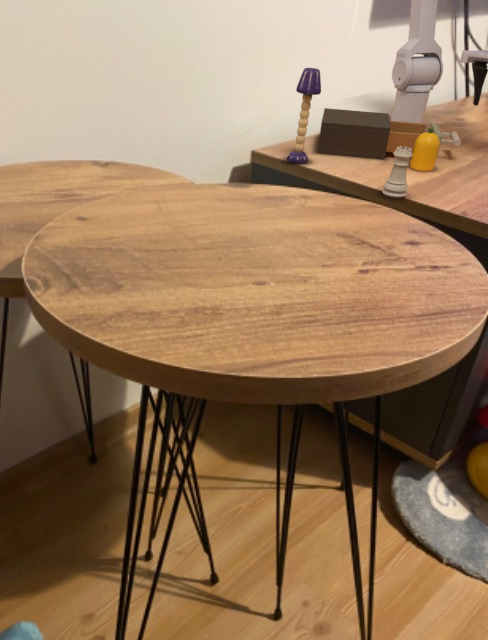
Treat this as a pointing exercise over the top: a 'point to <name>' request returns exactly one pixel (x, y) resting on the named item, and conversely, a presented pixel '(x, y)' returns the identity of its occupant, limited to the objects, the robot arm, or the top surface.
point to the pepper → (425, 151)
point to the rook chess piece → (398, 174)
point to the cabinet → (354, 133)
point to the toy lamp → (305, 111)
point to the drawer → (414, 135)
